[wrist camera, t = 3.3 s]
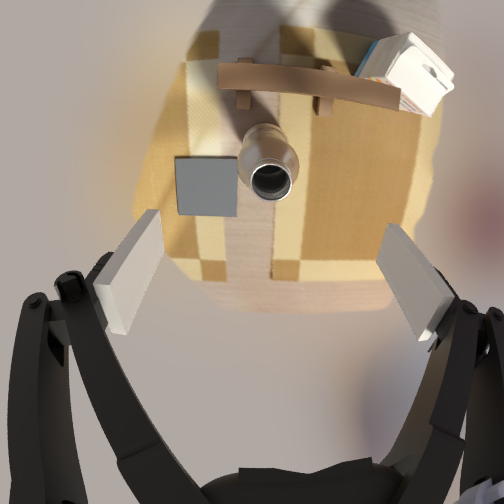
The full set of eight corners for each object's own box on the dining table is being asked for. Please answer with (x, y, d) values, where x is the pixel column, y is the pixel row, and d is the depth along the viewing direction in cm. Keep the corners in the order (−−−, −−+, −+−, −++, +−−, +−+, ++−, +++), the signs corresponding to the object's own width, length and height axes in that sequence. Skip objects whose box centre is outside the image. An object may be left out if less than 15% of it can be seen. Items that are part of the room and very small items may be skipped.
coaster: (176, 158, 41) (175, 158, 41) (238, 158, 42) (238, 159, 41) (179, 213, 47) (178, 215, 47) (236, 215, 47) (236, 217, 47)
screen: (238, 59, 33) (219, 26, 14) (333, 68, 33) (403, 55, 15) (236, 108, 37) (215, 127, 19) (329, 116, 37) (393, 146, 19)
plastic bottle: (272, 169, 42) (282, 229, 26) (235, 147, 41) (218, 193, 24) (295, 136, 39) (324, 174, 23) (257, 113, 38) (257, 131, 21)
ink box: (350, 78, 34) (388, 76, 22) (373, 40, 30) (416, 27, 18) (392, 109, 36) (439, 121, 24) (414, 72, 32) (464, 74, 20)
